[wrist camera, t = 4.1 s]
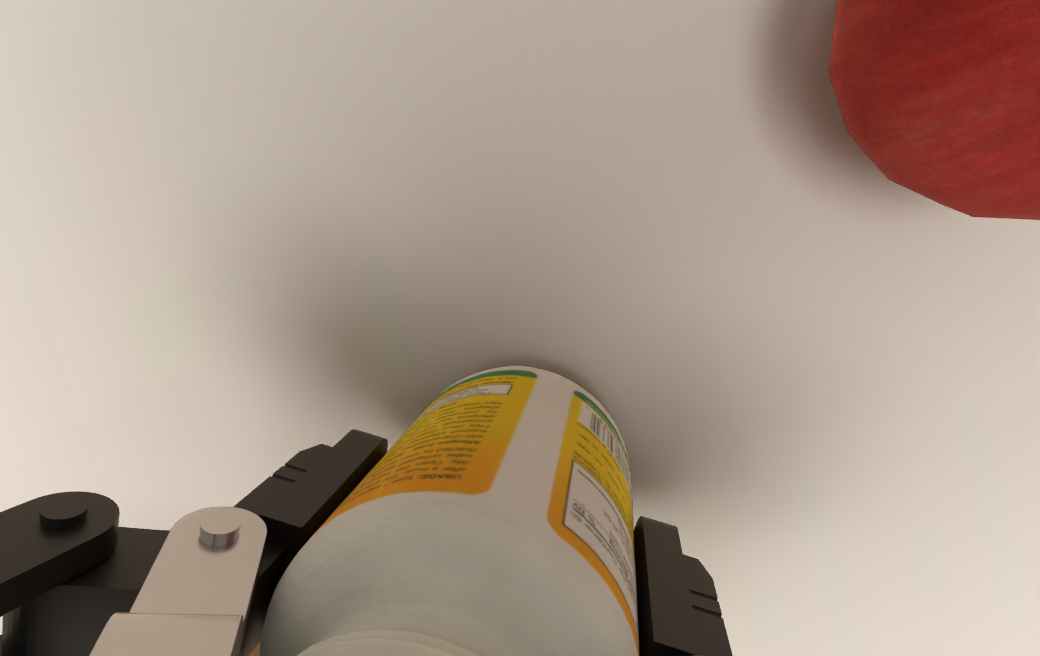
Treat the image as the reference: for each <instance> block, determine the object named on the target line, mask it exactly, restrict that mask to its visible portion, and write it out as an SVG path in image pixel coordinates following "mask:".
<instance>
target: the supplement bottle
mask: <svg viewBox="0 0 1040 656" xmlns="http://www.w3.org/2000/svg"><path fill="white" fill-rule="evenodd" d="M260 656H639V632H638V612H637V590H636V570H635V557H634V532H633V502H632V483H631V474H630V464H629V458H628V454H627V450H626V447H625V443H624V441H623V438H622V436H621V434H620V432H619V430H618V428H617V425H616V424H615V422H614V421H613V419H612V418H611V416H610V415H609V413H608V412H607V410H606V409H605V408H604V407H603V406H602V405H601V403H600V402H599V401H598V400H597V399H596V398H595V397H593V396H592V395H591V394H590V393H589V392H587V391H586V390H585V389H583V388H582V387H581V386H579V385H577V384H576V383H574V382H573V381H571V380H569V379H567V378H565V377H563V376H561V375H558V374H556V373H553V372H550V371H546V370H542V369H538V368H533V367H527V366H506V367H498V368H493V369H488V370H485V371H481V372H478V373H474V374H472V375H470V376H467V377H465V378H463V379H461V380H459V381H457V382H455V383H454V384H452V385H451V386H449V387H448V388H446V389H445V390H444V391H443V392H442V393H441V394H439V395H438V396H437V397H436V398H435V399H434V400H433V401H432V402H431V403H430V404H429V405H428V406H427V407H426V408H425V409H424V411H423V412H422V413H421V415H420V416H419V417H418V418H417V419H416V420H415V421H414V423H413V424H412V425H411V426H410V427H409V428H408V429H407V430H406V432H405V433H404V434H403V435H402V436H401V438H400V439H399V440H398V441H397V442H396V443H395V444H394V446H393V447H392V448H391V449H390V450H389V451H388V452H387V453H386V455H385V456H384V457H383V458H382V459H381V460H380V461H379V462H378V463H377V464H376V466H375V467H374V468H373V469H372V470H371V471H370V472H369V473H368V474H367V475H366V477H365V478H364V479H363V480H362V481H361V482H360V483H359V485H358V486H357V487H356V488H355V489H354V490H353V491H352V492H351V493H350V495H349V496H348V497H347V498H346V499H345V500H344V501H343V502H342V503H341V504H340V505H339V507H338V508H337V509H336V510H335V511H334V512H333V513H332V514H331V516H330V517H329V518H328V519H327V520H326V521H325V522H324V523H323V525H322V526H321V527H320V528H319V529H318V530H317V531H316V532H315V533H314V535H313V536H312V537H311V538H310V539H309V540H308V541H307V543H306V544H305V545H304V546H303V547H302V548H301V550H300V551H299V552H298V553H297V555H296V556H295V557H294V559H293V560H292V562H291V563H290V565H289V566H288V568H287V569H286V571H285V572H284V574H283V576H282V577H281V579H280V581H279V582H278V585H277V587H276V589H275V591H274V593H273V596H272V599H271V601H270V604H269V607H268V610H267V614H266V617H265V621H264V625H263V630H262V636H261V642H260Z"/></svg>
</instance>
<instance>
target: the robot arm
mask: <svg viewBox="0 0 1040 656" xmlns="http://www.w3.org/2000/svg"><path fill="white" fill-rule="evenodd" d="M387 447H388V442H387V439H385V438H382V437H378V436H375V435H372V434H368V433H365V432H362V431H358V430H355V429H353V430H351V431H350V432H349V433H348V434H347V435H346V436H344V437H343V438H342V439H341V440H340V441H339V442H338V443H337V444H336V445H335V446H334V447H330V446H327V445H323V444H320V445H317V446H314V447H312V448H309V449H306V450H303V451H300V452H299V453H298V454H296V455H295V456H294V457H293V458H292V459H290V460H289V461H288V462H287V463H286V464H285V466H282V467H281V468H280V469H278V470H277V471H276V472H275V473H273V476H272V477H271V476H270V477H269V478H267V479H266V480H265V481H264V482H263V483H261V484H260V485H259V486H258V487H257V488H255V489H254V490H253V491H252V492H251V493H249V494H248V495H247V496H246V497H245V498H243V499H242V500H241V501H240V502H239V503H237V504H236V505H235V506H234V507H211V508H205V509H201V510H198V511H195V512H192V513H190V514H188V515H186V516H184V517H183V518H181V519H180V520H178V521H177V522H176V523H175V524H174V526H173V527H172V529H171V530H170V531H167V530H150V529H138V528H126V527H118V524H119V508H118V506H117V504H116V503H115V502H114V501H113V500H111V499H110V498H108V497H106V496H103V495H100V494H96V493H90V492H62V493H56V494H50V495H46V496H42V497H39V498H36V499H33V500H31V501H28V502H26V503H23V504H20V505H18V506H15V507H13V508H10V509H8V510H5V511H3V512H0V617H1V616H3V630H2V635H0V656H249V655H250V653H251V652H252V651H253V650H254V648H255V647H256V646H257V644H258V643H259V642H260V641H261V636H262V630H263V625H264V621H265V617H266V614H267V610H268V607H269V604H270V601H271V599H272V596H273V593H274V591H275V589H276V587H277V585H278V582H279V581H280V579H281V577H282V576H283V574H284V572H285V571H286V569H287V568H288V566H289V565H290V563H291V562H292V560H293V559H294V557H295V556H296V555H297V553H298V552H299V551H300V550H301V548H302V547H303V546H304V545H305V544H306V543H307V541H308V540H309V539H310V538H311V537H312V536H313V535H314V533H315V532H316V531H317V530H318V529H319V528H320V527H321V526H322V525H323V523H324V522H325V521H326V520H327V519H328V518H329V517H330V516H331V514H332V513H333V512H334V511H335V510H336V509H337V508H338V507H339V505H340V504H341V503H342V502H343V501H344V500H345V499H346V498H347V497H348V496H349V495H350V493H351V492H352V491H353V490H354V489H355V488H356V487H357V486H358V485H359V483H360V482H361V481H362V480H363V479H364V478H365V477H366V475H367V474H368V473H369V472H370V471H371V470H372V469H373V468H374V467H375V466H376V464H377V463H378V462H379V461H380V460H381V459H382V458H383V457H384V456H385V455H386V453H387ZM633 532H634V557H635V570H636V590H637V612H638V632H639V656H732V652H731V648H730V644H729V640H728V636H727V633H726V629H725V625H724V621H723V618H721V615H722V613H721V609H720V605H719V602H717V594H716V590H715V586H714V582H713V579H712V577H711V576H710V575H709V573H708V572H707V571H706V569H705V568H704V567H703V565H702V564H701V563H700V561H699V560H698V559H696V558H693V557H689V556H686V555H683V554H682V549H681V544H680V539H679V534H678V529H677V527H676V526H673V525H669V524H666V523H663V522H659V521H656V520H653V519H649V518H646V517H643V516H640V517H639V519H638V521H637V523H636V526H635V528H634V531H633Z"/></svg>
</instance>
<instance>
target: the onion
mask: <svg viewBox="0 0 1040 656" xmlns="http://www.w3.org/2000/svg"><path fill="white" fill-rule="evenodd" d="M828 71H829V74H830V77H831V81H832V84H833V87H834V90H835V93H836V96H837V100H838V103H839V106H840V109H841V112H842V115H843V119H844V122H845V125H846V128H847V131H848V133H849V135H850V136H851V137H852V138H853V139H854V140H855V141H856V143H857V144H858V145H859V146H860V147H861V148H862V149H863V151H864V152H865V153H866V154H867V155H868V156H869V157H870V159H871V160H872V161H873V162H874V163H875V164H876V165H877V166H878V168H879V169H880V170H881V171H882V172H883V173H884V174H885V176H886V177H887V178H888V179H889V180H891V181H893V182H895V183H897V184H900V185H902V186H904V187H906V188H908V189H910V190H912V191H914V192H917V193H919V194H921V195H923V196H925V197H927V198H929V199H932V200H934V201H936V202H938V203H940V204H942V205H944V206H947V207H949V208H952V209H954V210H957V211H960V212H962V213H965V214H967V215H970V216H972V217H989V218H1011V219H1032V220H1040V0H838V1H837V8H836V16H835V23H834V31H833V39H832V47H831V55H830V63H829V70H828Z"/></svg>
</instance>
